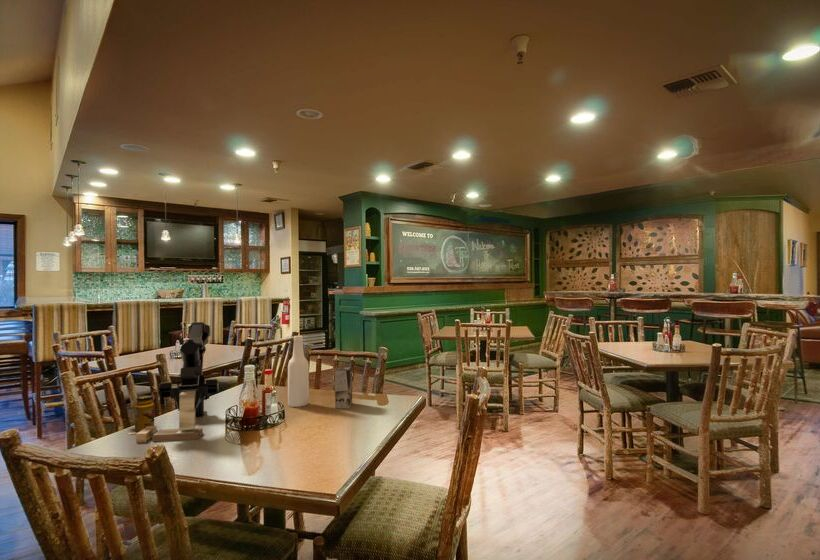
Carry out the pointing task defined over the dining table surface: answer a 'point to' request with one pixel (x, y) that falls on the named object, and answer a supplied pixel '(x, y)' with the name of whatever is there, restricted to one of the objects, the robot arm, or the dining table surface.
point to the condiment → (143, 414)
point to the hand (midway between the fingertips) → (187, 409)
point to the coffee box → (343, 387)
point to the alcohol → (298, 376)
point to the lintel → (145, 434)
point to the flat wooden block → (177, 434)
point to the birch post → (187, 410)
